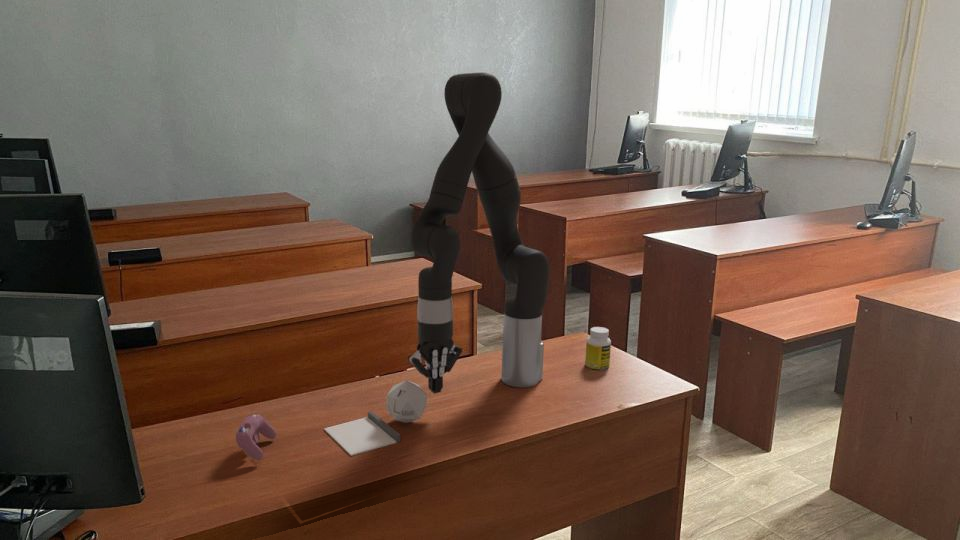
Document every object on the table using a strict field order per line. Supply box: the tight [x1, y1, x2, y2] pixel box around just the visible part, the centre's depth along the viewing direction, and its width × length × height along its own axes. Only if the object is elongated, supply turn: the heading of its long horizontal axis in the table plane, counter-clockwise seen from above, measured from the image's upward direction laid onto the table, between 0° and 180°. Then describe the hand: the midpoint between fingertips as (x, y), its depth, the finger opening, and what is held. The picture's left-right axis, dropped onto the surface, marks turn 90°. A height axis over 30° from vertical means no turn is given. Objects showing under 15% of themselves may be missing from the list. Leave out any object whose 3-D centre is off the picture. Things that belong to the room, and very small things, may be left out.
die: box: [385, 379, 428, 424], centre depth 153 cm, size 8×9×10 cm
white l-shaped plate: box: [323, 410, 401, 457], centre depth 148 cm, size 11×13×2 cm
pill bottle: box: [584, 326, 612, 371], centre depth 184 cm, size 6×6×11 cm
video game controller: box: [235, 413, 277, 461], centre depth 141 cm, size 10×5×7 cm, turn 178°
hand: (435, 391), depth 157 cm, fingers closed
